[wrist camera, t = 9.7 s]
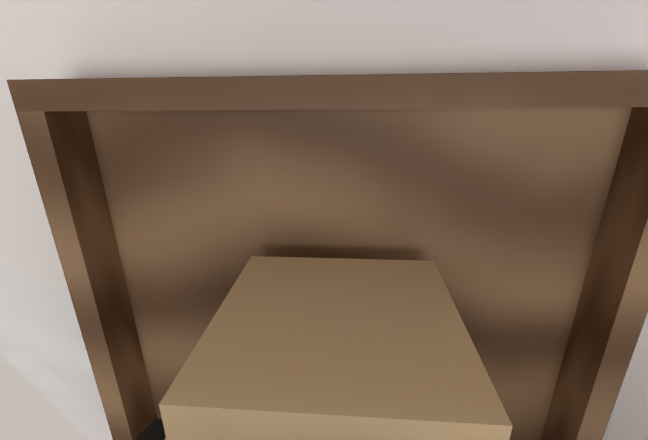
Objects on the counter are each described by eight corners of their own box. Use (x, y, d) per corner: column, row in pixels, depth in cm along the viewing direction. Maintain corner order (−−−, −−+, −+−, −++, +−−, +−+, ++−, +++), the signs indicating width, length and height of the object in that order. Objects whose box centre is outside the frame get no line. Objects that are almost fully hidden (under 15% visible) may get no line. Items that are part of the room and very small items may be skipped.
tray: (539, 464, 20) (570, 527, 17) (158, 438, 21) (128, 491, 18) (650, 74, 13) (733, 69, 10) (74, 82, 14) (6, 79, 12)
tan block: (418, 402, 16) (465, 627, 9) (263, 394, 16) (202, 600, 10) (434, 260, 13) (512, 425, 7) (251, 256, 14) (158, 404, 7)
